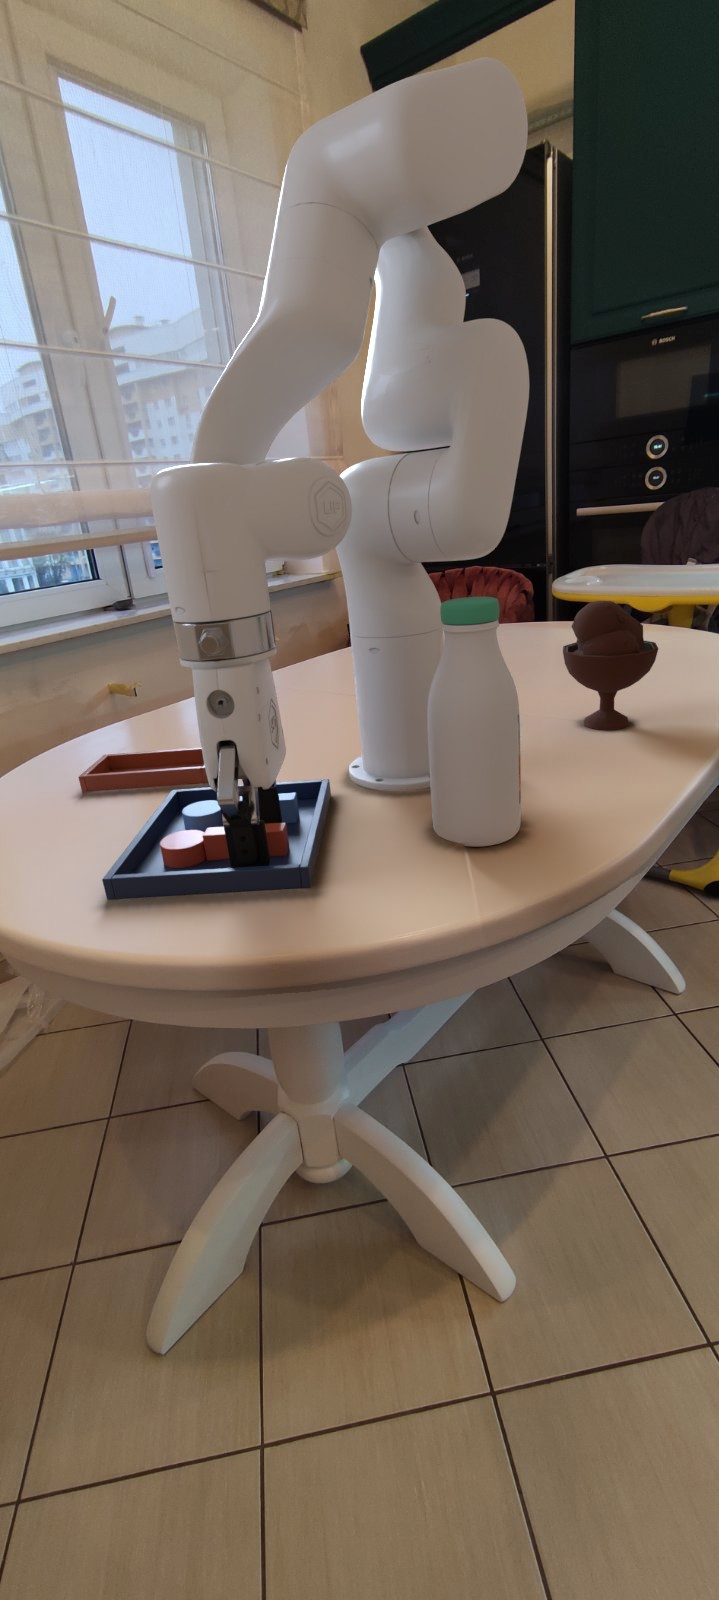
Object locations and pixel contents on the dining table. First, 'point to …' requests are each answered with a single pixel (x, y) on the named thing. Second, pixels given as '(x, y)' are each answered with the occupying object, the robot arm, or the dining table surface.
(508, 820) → the milk bottle
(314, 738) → the dining table surface
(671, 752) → the dining table surface
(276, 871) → the navy tray
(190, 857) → the red spoon
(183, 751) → the terracotta tray
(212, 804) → the blue spoon
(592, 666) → the ice cream bowl
